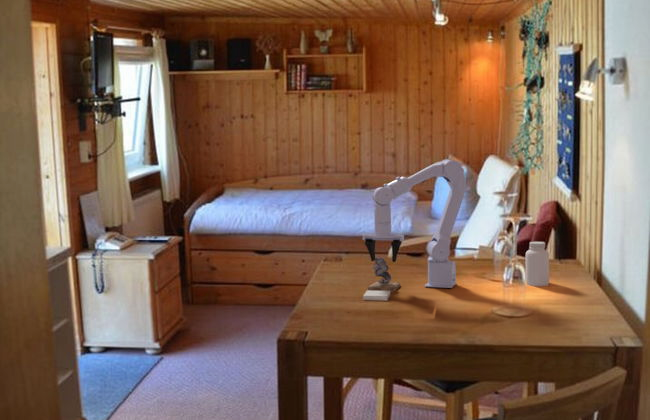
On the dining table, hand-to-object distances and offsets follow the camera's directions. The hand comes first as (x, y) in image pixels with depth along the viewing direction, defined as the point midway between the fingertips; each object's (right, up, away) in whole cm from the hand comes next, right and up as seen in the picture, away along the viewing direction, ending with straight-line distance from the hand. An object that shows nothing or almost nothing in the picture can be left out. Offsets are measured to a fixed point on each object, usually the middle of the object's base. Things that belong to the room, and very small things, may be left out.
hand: (383, 261), depth 275 cm
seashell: (0, -8, +1) cm, 8 cm away
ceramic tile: (-3, -12, -9) cm, 15 cm away
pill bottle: (+54, -9, +3) cm, 55 cm away
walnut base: (0, -10, +1) cm, 10 cm away
